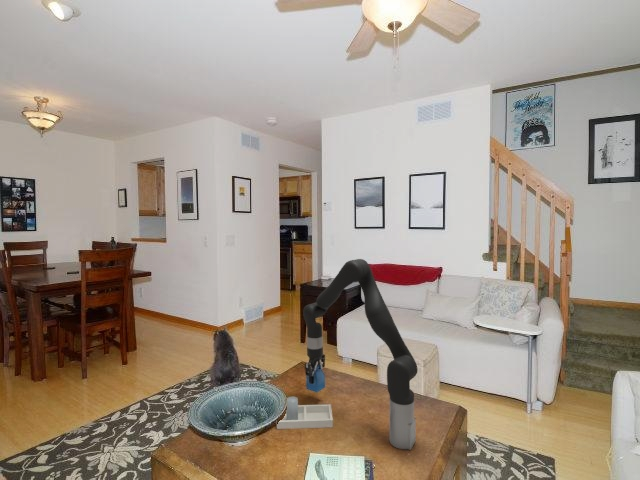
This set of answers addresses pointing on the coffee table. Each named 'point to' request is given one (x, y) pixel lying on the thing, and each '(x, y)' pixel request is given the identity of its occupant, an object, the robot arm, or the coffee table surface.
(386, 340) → the robot arm
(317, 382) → the perfume bottle
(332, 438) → the coffee table surface
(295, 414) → the grey rounded cylinder
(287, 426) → the tray
